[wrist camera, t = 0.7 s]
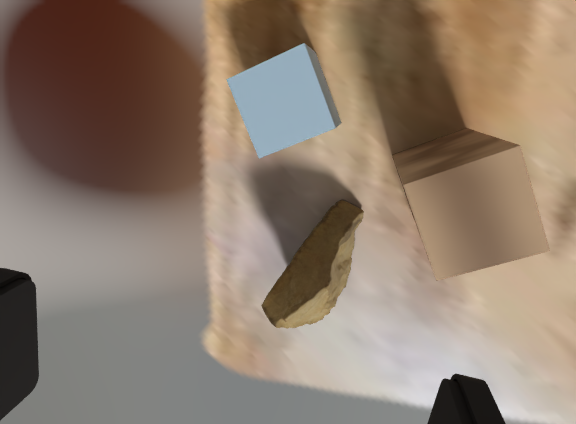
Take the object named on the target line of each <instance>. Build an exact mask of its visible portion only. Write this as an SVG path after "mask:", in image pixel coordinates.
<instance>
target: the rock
mask: <svg viewBox="0 0 576 424" xmlns="http://www.w3.org/2000/svg"><path fill="white" fill-rule="evenodd" d="M363 213H364V211H363V210H362V209H360V208H358V207H356V206H354V205H352V204H350V203H349V202H346V201H344V200H340V201H339V202H337V203H336V204H335V205H334V206H332V207H331V208H330V209H329V210H328V212H327V213H326V215H325V216H324V217H323V218H322V220H321V221H320V222H319V223H318V224H317V226H316V227H315V228H314V229H313V231H312V232H311V234H310V236H309V237H308V238H307V239H306V240H305V241H304V243H303V244H302V246H301V247H300V248H299V250H298V251H297V253H296V254H295V255H294V257H293V259H292V261H291V263H290V265H288V266H287V267H286V269H285V271H284V272H283V274H282V275H281V276H280V278H279V279H278V280H277V282H276V283H275V285H274V286H273V288H272V289H271V291H270V292H269V293H268V295H267V296H266V298H265V300H264V302H263V304H262V308H263V310H264V312H265V314H266V316H267V318H268V319H269V321H270V322H271V323H272V324H273V325H274V326H275V327H276V328H280V327H284V328H296V327H299V326H303V325H305V324H313V323H316V322H317V321H319V320H322V319H323V318H324V316H325V315H327V314H329V313H330V309H331V308H333V307H334V306H335V304H336V301H337V297H338V296H339V295H340V293H341V292H342V290H343V288H345V287H346V283H347V279H348V275H349V273H350V270H351V267H350V266H351V262H352V258H351V255H352V250H353V248H354V232H355V230H356V228H357V227H358V225H359V223H361V221H362V218H363Z"/></svg>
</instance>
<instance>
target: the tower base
mask: <svg viewBox="0 0 576 424" xmlns="http://www.w3.org/2000/svg"><path fill="white" fill-rule="evenodd" d="M483 136H486V134H483V133H480V132H477V131H474V130H471V129H468V128H465V129H463V130H460V131H457V132H454V133H452V134H449V135H446V136H443V137H441V138H438V139H435V140H432V141H429V142H427V143H424V144H421V145H418V146H416V147H413V148H410V149H407V150H405V151H402V152H399V153H396V154H394V155H392V156H393V159H394V162H395V165H396V168H397V167H398V166H401V165H404V164H406V163H409V162H412V161H415V160H418V159H421V158H423V157H426V156H429V155H432V154H435V153H438V152H440V151H443V150H446V149H449V148H452V147H455V146H457V145H460V144H463V143H466V142H469V141H472V140H474V139H477V138H480V137H483ZM397 171H398V169H397ZM398 173H399V172H398ZM399 176H400V175H399ZM400 179H401V178H400ZM401 182H402V181H401ZM402 185H403V184H402ZM403 188H404V187H403ZM404 191H405V190H404ZM405 194H406V193H405ZM406 197H407V195H406ZM407 199H408V198H407ZM408 202H409V201H408ZM409 205H410V204H409ZM410 208H411V207H410ZM411 211H412V210H411ZM412 214H413V213H412ZM413 217H414V216H413ZM414 220H415V219H414ZM415 223H416V221H415ZM416 225H417V224H416ZM417 228H418V227H417ZM418 231H419V230H418ZM419 234H420V233H419Z"/></svg>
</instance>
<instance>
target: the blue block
mask: <svg viewBox="0 0 576 424" xmlns="http://www.w3.org/2000/svg"><path fill="white" fill-rule="evenodd" d="M226 80H227V82H228V85H229V87H230V89H231V92H232V94H233V97H234V99H235V102H236V104H237V106H238V109H239V111H240V114H241V116H242V118H243V121H244V123H245V126H246V128H247V131H248V133H249V135H250V138H251V140H252V143H253V145H254V148H255V150H256V152H257V155H258V157H259V158H262V157H264V156H267V155H269V154H272V153H274V152H277V151H279V150H282V149H284V148H287V147H289V146H292V145H294V144H297V143H299V142H302V141H305V140H307V139H310V138H312V137H315V136H317V135H320V134H322V133H325V132H327V131H330V130H332V129H335V128H336V127H337V126H339V125H340V124H341V120H340V118H339V115H338V112H337V110H336V107H335V104H334V101H333V99H332V96H331V93H330V90H329V88H328V85H327V82H326V79H325V77H324V74H323V71H322V68H321V66H320V63H319V60H318V57H317V55H316V52H315V51H313V50H312V49H311V48H310V47H309V46H307V45H306V44H305V43H303V44H301V45H299V46H296V47H294V48H292V49H290V50H288V51H286V52H284V53H282V54H279V55H277V56H275V57H273V58H271V59H269V60H267V61H265V62H262V63H260V64H258V65H256V66H254V67H252V68H250V69H248V70H245V71H243V72H241V73H239V74H237V75H235V76H233V77H231V78H228V79H226Z"/></svg>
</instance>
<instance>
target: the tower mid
mask: <svg viewBox="0 0 576 424" xmlns="http://www.w3.org/2000/svg"><path fill="white" fill-rule="evenodd" d="M397 169H398V172H399V175H400V178H401V181H402V184H403V187H404V190H405V193H406V195H407V198H408V201H409V204H410V207H411V210H412V213H413V216H414V219H415V221H416V224H417V227H418V230H419V233H420V236H421V239H422V242H423V245H424V247H425V250H426V253H427V256H428V258H429V261H430V264H431V267H432V269H433V272H434V275H435V278H436V281H438V280H442V279H446V278H449V277H453V276H457V275H461V274H464V273H468V272H472V271H476V270H480V269H483V268H487V267H491V266H495V265H499V264H502V263H506V262H510V261H514V260H517V259H521V258H525V257H529V256H533V255H536V254H540V253H544V252H548V251H550V249H549V246H548V242H547V239H546V235H545V232H544V228H543V224H542V221H541V217H540V214H539V210H538V207H537V203H536V200H535V196H534V193H533V189H532V185H531V182H530V178H529V175H528V171H527V168H526V164H525V161H524V157H523V153H522V150H521V146H520V145H517V144H514V143H511V142H508V141H505V140H502V139H499V138H496V137H492V136H489V135H486V136H483V137H480V138H477V139H474V140H472V141H469V142H466V143H463V144H460V145H457V146H455V147H452V148H449V149H446V150H443V151H440V152H438V153H435V154H432V155H429V156H426V157H423V158H421V159H418V160H415V161H412V162H409V163H406V164H404V165H401V166H398V167H397Z"/></svg>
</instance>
